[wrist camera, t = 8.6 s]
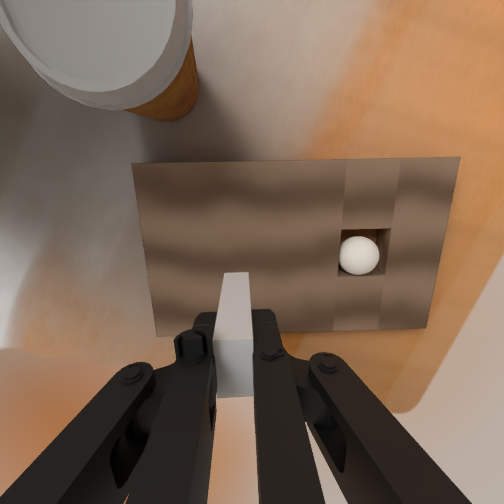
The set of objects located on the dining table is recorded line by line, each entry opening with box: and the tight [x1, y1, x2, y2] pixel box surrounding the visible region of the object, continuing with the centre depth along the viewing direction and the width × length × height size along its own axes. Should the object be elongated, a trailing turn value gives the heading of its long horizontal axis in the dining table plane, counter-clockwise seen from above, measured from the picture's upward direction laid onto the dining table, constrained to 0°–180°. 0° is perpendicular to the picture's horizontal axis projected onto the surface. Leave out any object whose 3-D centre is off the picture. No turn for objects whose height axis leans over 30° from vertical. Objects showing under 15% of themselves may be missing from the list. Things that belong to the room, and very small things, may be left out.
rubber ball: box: [339, 236, 379, 275], centre depth 26 cm, size 4×4×4 cm
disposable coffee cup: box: [0, 0, 199, 122], centre depth 17 cm, size 10×10×12 cm
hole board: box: [131, 157, 461, 337], centre depth 26 cm, size 18×30×2 cm, turn 91°
